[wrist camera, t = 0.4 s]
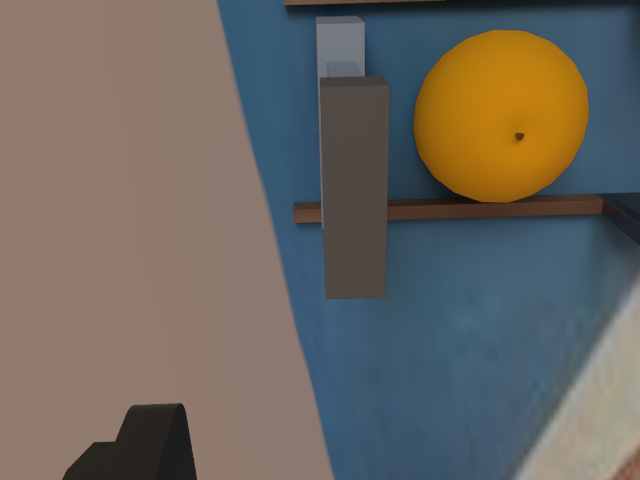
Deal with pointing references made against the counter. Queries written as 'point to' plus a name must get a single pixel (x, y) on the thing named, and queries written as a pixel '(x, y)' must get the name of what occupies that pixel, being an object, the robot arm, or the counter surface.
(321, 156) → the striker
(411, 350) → the counter surface
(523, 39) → the orange
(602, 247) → the counter surface
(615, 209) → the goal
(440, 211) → the rails
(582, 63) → the counter surface
